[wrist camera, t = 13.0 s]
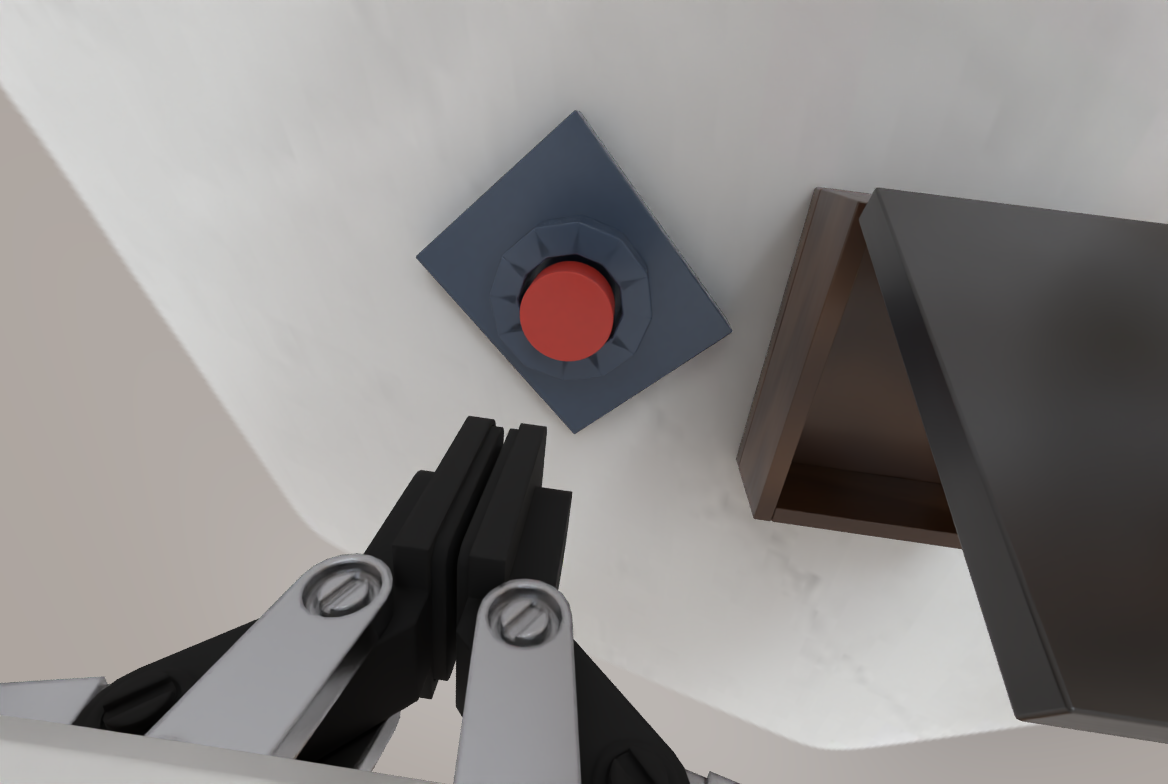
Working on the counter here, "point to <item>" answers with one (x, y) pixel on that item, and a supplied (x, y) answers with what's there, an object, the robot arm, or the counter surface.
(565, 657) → the robot arm
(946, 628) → the counter surface
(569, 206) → the blue button base
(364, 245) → the counter surface
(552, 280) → the red push button
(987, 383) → the dark slab with handle
